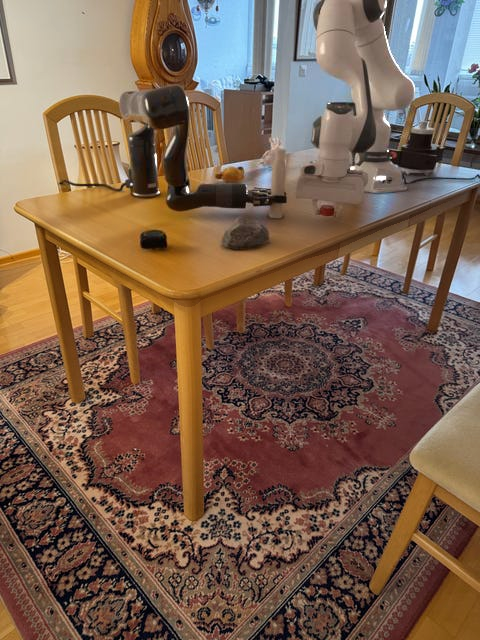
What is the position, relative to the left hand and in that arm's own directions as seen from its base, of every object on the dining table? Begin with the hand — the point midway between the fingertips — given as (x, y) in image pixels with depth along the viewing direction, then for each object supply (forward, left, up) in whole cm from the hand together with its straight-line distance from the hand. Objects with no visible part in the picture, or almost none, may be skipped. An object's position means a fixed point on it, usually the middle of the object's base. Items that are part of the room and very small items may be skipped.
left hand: (285, 197), depth 140 cm
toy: (-36, +33, -6) cm, 49 cm away
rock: (0, -28, -6) cm, 29 cm away
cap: (+14, -1, -1) cm, 14 cm away
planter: (-5, +84, -6) cm, 84 cm away
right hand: (+14, -1, -3) cm, 14 cm away
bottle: (-2, -1, -6) cm, 7 cm away
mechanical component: (+28, +96, -6) cm, 100 cm away
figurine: (-33, +65, -6) cm, 73 cm away
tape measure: (-19, -43, -6) cm, 47 cm away
